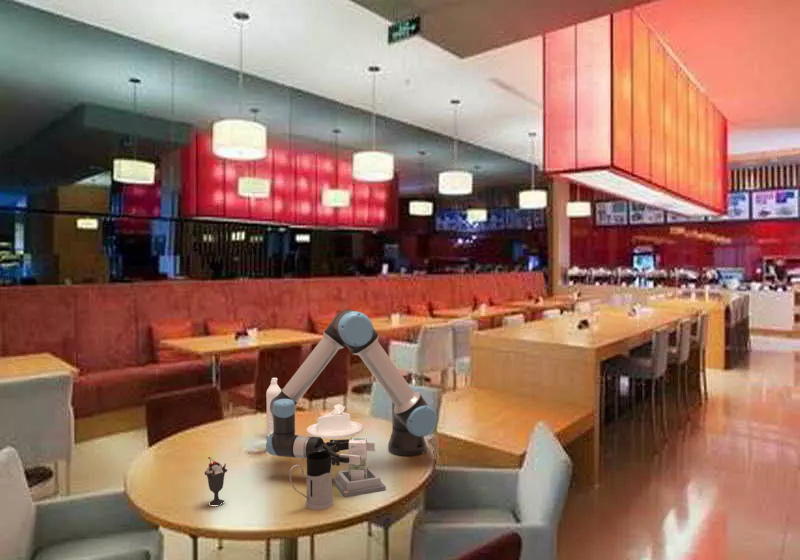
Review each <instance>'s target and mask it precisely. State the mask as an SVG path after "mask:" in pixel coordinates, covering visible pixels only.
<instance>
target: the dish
mask: <svg viewBox="0 0 800 560" xmlns="http://www.w3.org/2000/svg"><path fill="white" fill-rule="evenodd" d="M333 408H334V409H333V410H332V411H330V412H329V413H328V412H327V413H326V414H323V415H321V416H319V417H317V422H315V423H312V424H311V425H309V426H307V428H306V433H307V434H308V436H310V437H321V438H322V439H323V440H324V439H329V440H337V439H344V438H345V439H346V438H350V437H353V435H354V436H356V434H357V435H359V434H360V433H361V431H362V432H363V425H362V424H361V423H359V422H357V421H353V420H351V414H349V413H347V412H345V409H346V405H345V406H344V405H343V404H342V403H338V404H335V405H333ZM349 436H350V437H349Z"/></svg>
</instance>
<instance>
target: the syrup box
mask: <svg viewBox="0 0 800 560" xmlns="http://www.w3.org/2000/svg"><path fill="white" fill-rule="evenodd" d="M349 439H350V440H349V449H348V455H357V456H360V465H355V464H348V470H349V481H350V482H351V481H357V480H363V479H367V467H368V463H367V459H368V458H367V456H368V453H367V452H368V451H367V442H368V440H367V437H349Z"/></svg>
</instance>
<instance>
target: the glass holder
mask: <svg viewBox="0 0 800 560" xmlns="http://www.w3.org/2000/svg"><path fill="white" fill-rule="evenodd" d="M331 461H332V460H331V454H330V453H328V452H313V453H310V454H308V455H307V459H306V472H305V473H306V475H304V468H303V466H302V465H301V464H295V465H292V467H291V468H290V469H289V471H288V472H289V482H290V485H291V487H292V489H293V490H294V491H295V492H297V493H298V494H300V495H301V496H303V497H304V498H306V501H305V503H304V504H305V505H304V506H305V507H306V508H307V509H309V510H310V509H311V510H314V511H315V510H317V511H320V510H325V509H326V510H327V509H328V508H331V507H332V506H333V505H334V503H335V502H334V499H333V465H332V463H331ZM297 467H299V468H300V469H301V475H302V477H303V478H305V479H306V480H305V481H306V482H305V483H306V495H305V494H304V493H303V492H300V491H299V490H298V489H297V488H296V487H295V486H294V484H293V481H292V472H293V469H294V468H297Z"/></svg>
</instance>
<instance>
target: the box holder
mask: <svg viewBox="0 0 800 560" xmlns="http://www.w3.org/2000/svg"><path fill="white" fill-rule="evenodd" d="M332 483H333V484H334V485H335V486H336V488H337V489H338V490H339V492H340V493H341V494H342V496H343V497H344V498H348V497H353V496H360V495H364V494H372V493H376V492H383V491H386V489H387V487H386V485H385V484H384V483H383V481H381V477H380V476H379V475H378V474H377V473H376V472H375V471H374V469H372V468H371V467H370V466H367V479H363V480H357V481H351V482H350V481H349V469H346V470H340V471H337V477H332Z"/></svg>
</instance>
